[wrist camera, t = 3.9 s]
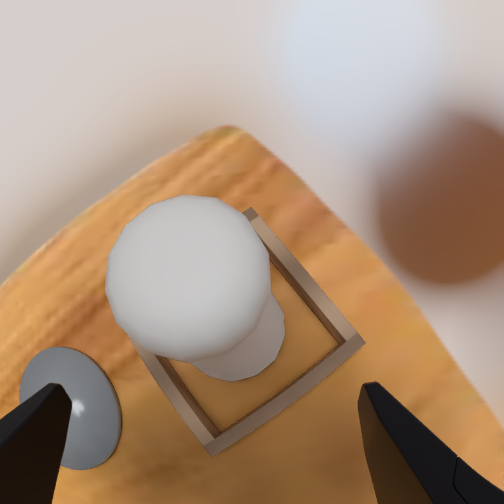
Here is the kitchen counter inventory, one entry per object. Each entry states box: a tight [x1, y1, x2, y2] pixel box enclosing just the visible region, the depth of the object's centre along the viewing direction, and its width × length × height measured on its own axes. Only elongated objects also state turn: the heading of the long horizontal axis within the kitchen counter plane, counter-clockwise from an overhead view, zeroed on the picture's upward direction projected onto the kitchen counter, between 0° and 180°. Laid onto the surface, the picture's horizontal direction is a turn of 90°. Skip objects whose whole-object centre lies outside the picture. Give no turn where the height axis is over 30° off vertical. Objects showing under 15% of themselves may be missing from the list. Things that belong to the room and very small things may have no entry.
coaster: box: [20, 347, 122, 470], centre depth 17 cm, size 9×9×1 cm
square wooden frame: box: [126, 207, 366, 457], centre depth 18 cm, size 11×11×2 cm
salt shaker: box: [105, 195, 285, 382], centre depth 13 cm, size 6×6×13 cm
